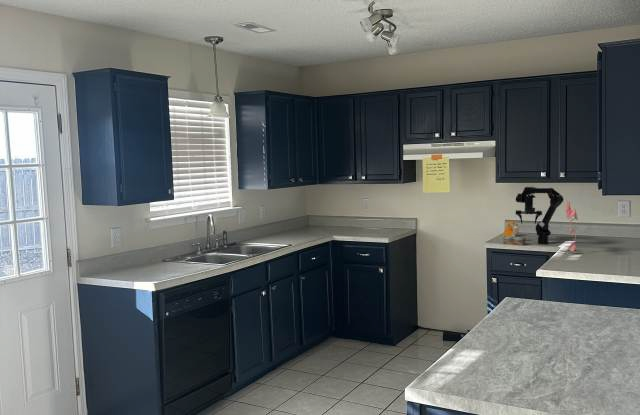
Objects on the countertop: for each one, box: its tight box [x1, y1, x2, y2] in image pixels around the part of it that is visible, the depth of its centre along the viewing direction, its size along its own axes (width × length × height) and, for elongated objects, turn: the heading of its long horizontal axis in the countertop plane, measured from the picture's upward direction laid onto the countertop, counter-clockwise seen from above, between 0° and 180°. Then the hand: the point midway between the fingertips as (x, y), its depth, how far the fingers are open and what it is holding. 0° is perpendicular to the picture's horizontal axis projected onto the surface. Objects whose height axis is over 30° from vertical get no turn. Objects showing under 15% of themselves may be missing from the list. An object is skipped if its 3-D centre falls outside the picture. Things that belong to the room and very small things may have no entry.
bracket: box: [502, 220, 516, 237], centre depth 481 cm, size 11×7×12 cm, turn 64°
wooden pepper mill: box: [512, 223, 519, 237], centre depth 459 cm, size 4×4×13 cm
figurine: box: [565, 200, 579, 252], centre depth 410 cm, size 15×26×35 cm, turn 166°
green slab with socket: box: [502, 236, 527, 246], centre depth 449 cm, size 15×12×5 cm
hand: (528, 224), depth 457 cm, fingers open, 9 cm apart
